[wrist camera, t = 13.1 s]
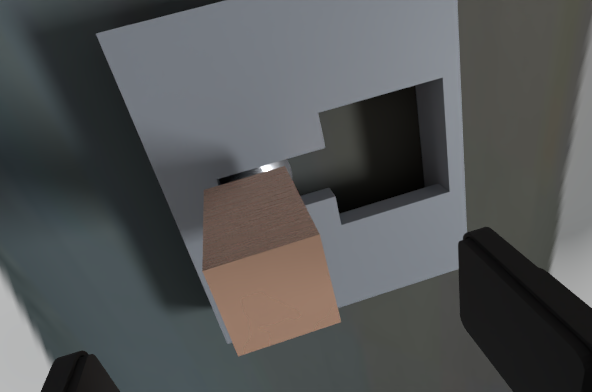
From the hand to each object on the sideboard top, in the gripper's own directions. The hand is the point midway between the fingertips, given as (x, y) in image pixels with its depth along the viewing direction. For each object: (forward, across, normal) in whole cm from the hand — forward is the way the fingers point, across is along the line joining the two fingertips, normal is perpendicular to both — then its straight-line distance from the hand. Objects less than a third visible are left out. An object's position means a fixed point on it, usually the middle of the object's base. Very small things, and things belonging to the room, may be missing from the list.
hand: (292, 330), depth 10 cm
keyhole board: (+13, -3, +1) cm, 14 cm away
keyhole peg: (+13, 0, +1) cm, 13 cm away
